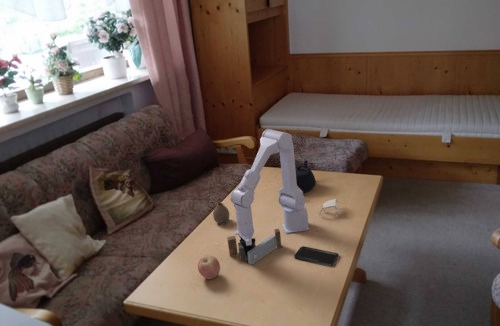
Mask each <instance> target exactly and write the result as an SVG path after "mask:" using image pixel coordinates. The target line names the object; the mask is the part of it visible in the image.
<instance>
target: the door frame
mask: <svg viewBox="0 0 500 326" xmlns="http://www.w3.org/2000/svg"><path fill="white" fill-rule="evenodd" d="M274 236H275V240H276V249H282V239H281V237H282V236H281V231H280V228H275V229H274ZM226 238H227V246H228V252H229V253H228V254H229V257H234V256H238V255H239V251H238V246H237V244H238V243H237V238H236V235H232V236H227V237H226Z"/></svg>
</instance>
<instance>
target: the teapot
mask: <svg viewBox="0 0 500 326" xmlns="http://www.w3.org/2000/svg"><path fill="white" fill-rule="evenodd" d="M295 170H296V182H297V186H298V187H299V188H300V189H301V190H302V191H303V194H306V193H309V192H311V191H312V190H313V189H314V188H315V186H316V177H315V174H314V173H313V171H312V169H311V168H310V167H308V160H307V159H306V160H305V161H304V162H303V165H301V164H297V165H296V164H295Z"/></svg>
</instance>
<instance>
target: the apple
mask: <svg viewBox="0 0 500 326" xmlns="http://www.w3.org/2000/svg"><path fill="white" fill-rule="evenodd" d="M197 270H198V273H199V274H200V276H202V277H203V278H205V279H207V280H213V279H215V278H216V277H217V276H218V275H219V273H220V271H221V264H220V262H219V260H218V258H217V257H216V256H213V255H209V254H208V255H204V256H202V257H200V258H199V260H198V263H197Z"/></svg>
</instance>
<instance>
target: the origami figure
mask: <svg viewBox="0 0 500 326" xmlns="http://www.w3.org/2000/svg"><path fill="white" fill-rule="evenodd" d="M336 202H337V204H336ZM340 203H341V202H340V201H339V200H338V199H337V198H333V199H329V200H327V201H325V202H323V204H322V206H321V210H320V212H319V213H318V215H319V216H321V219H322V218H323V217H324V215H323V214H325V213H326V209H330V208H334V209H335V210H336V211H335V213H334V215H335V217H336V218H337V217H338V214H339V213H340V210H339V208H338V206H339V204H340ZM323 211H324V212H323ZM322 212H323V214H321V213H322Z"/></svg>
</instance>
